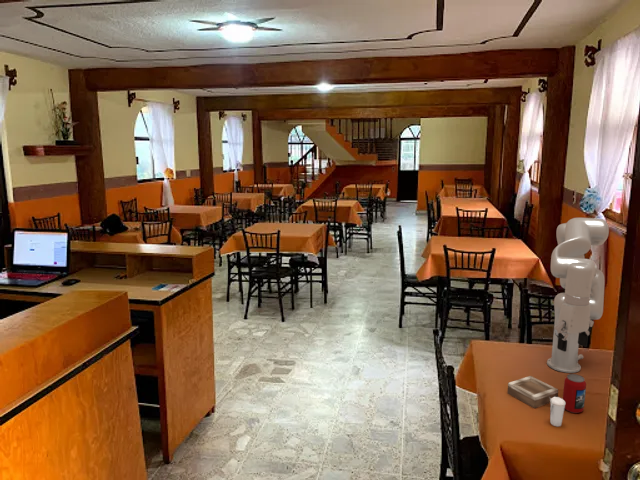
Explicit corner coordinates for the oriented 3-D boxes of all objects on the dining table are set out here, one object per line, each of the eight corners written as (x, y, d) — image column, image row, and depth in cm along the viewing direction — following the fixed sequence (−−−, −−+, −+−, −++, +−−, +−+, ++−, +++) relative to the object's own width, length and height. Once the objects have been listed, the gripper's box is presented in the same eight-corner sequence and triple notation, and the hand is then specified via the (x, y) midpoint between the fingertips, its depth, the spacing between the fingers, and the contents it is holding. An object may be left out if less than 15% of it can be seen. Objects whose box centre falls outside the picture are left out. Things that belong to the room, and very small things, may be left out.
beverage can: (582, 416, 166) (586, 384, 164) (560, 410, 170) (563, 379, 167) (584, 407, 172) (587, 375, 169) (562, 402, 175) (565, 371, 173)
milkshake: (543, 420, 164) (545, 393, 162) (558, 419, 164) (561, 392, 162) (550, 428, 159) (553, 400, 158) (566, 427, 160) (569, 399, 158)
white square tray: (529, 385, 187) (530, 375, 186) (557, 400, 177) (558, 389, 176) (507, 393, 182) (508, 382, 181) (534, 408, 171) (535, 397, 171)
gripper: (585, 293, 170) (580, 339, 173) (548, 299, 163) (544, 347, 166) (605, 299, 163) (599, 347, 166) (567, 306, 156) (562, 356, 160)
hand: (572, 347), depth 166 cm, fingers open, 9 cm apart
